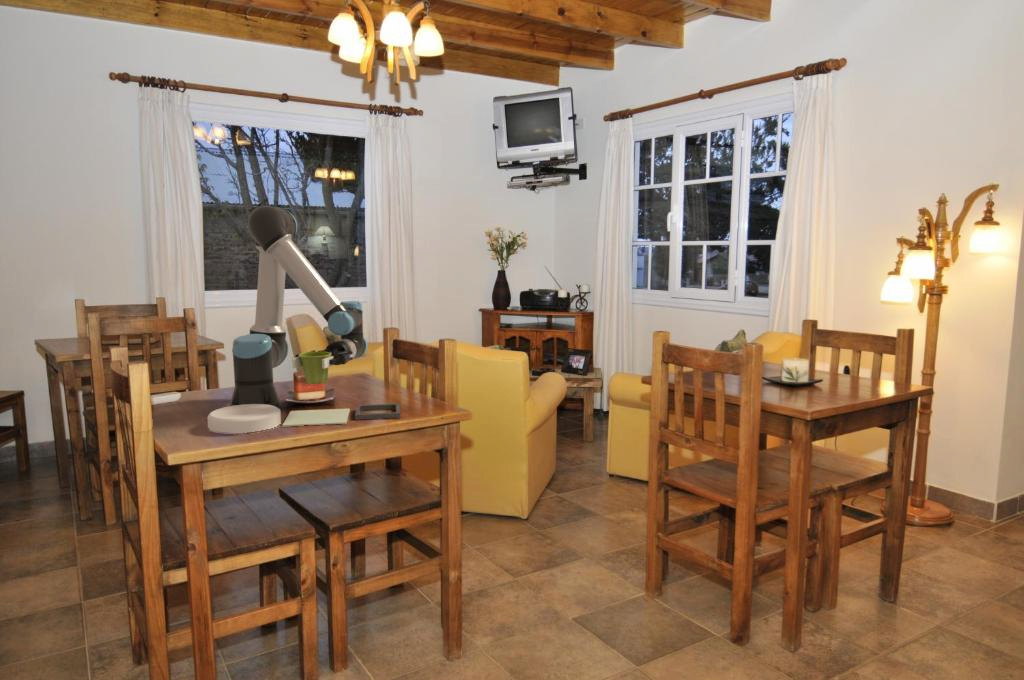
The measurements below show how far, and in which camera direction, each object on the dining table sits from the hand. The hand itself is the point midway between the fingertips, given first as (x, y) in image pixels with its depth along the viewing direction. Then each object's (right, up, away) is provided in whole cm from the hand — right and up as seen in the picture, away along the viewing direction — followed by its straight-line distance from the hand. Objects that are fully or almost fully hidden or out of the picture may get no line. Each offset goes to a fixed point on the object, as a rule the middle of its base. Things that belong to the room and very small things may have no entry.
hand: (308, 363), depth 210 cm
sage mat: (+1, -17, +7) cm, 18 cm away
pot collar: (+18, -16, +12) cm, 27 cm away
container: (-18, -18, -1) cm, 26 cm away
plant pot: (+1, -6, +5) cm, 8 cm away
